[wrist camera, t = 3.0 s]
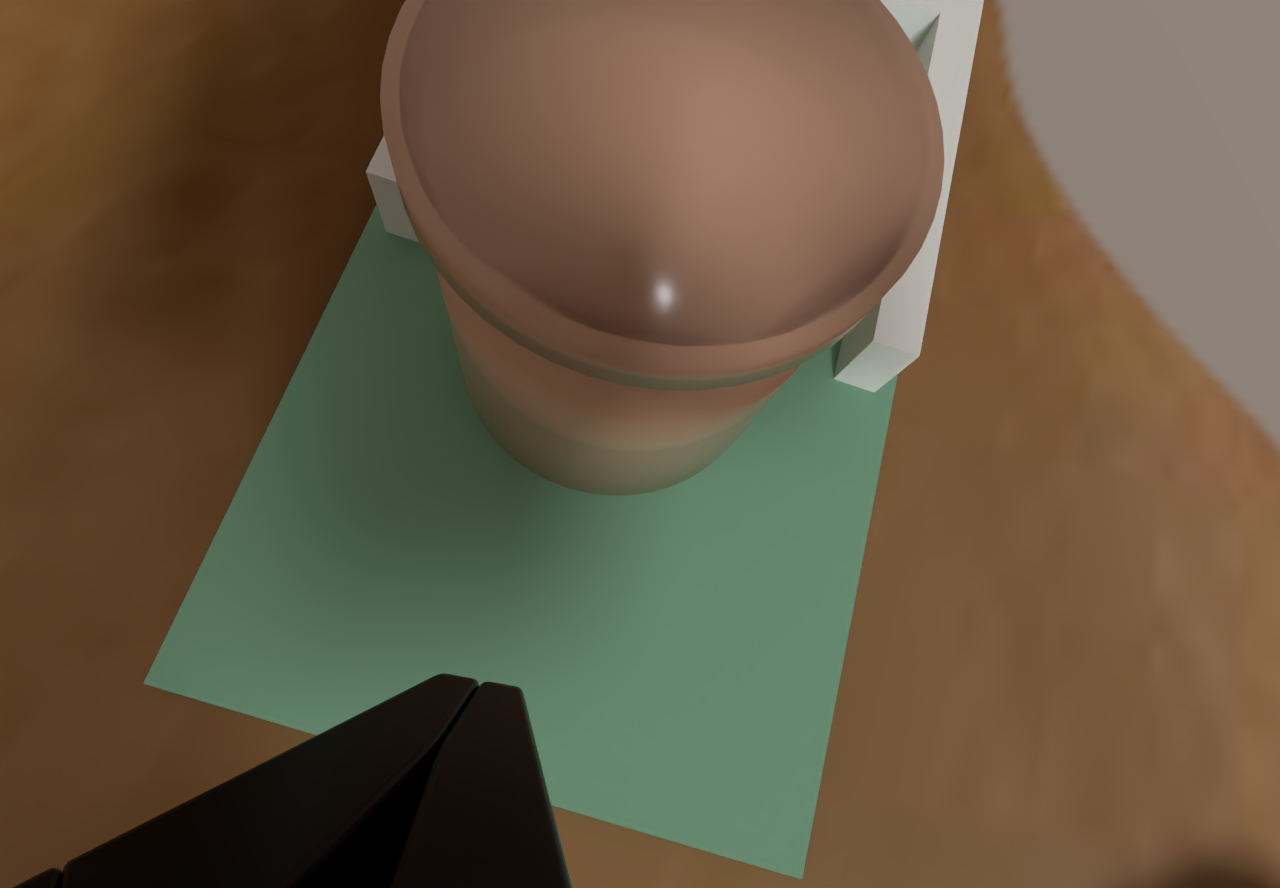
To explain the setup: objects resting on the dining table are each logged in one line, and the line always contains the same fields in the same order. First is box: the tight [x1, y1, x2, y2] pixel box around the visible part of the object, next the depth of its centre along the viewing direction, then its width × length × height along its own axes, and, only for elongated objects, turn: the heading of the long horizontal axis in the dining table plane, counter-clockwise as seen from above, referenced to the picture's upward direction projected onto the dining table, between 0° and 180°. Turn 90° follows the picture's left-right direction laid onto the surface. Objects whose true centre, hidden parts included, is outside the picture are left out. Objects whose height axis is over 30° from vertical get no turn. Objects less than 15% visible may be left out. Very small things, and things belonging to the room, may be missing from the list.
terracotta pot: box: [380, 0, 944, 496], centre depth 15 cm, size 8×8×9 cm
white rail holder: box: [366, 0, 984, 393], centre depth 21 cm, size 12×14×2 cm
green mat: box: [143, 204, 898, 880], centre depth 20 cm, size 25×15×1 cm, turn 164°
